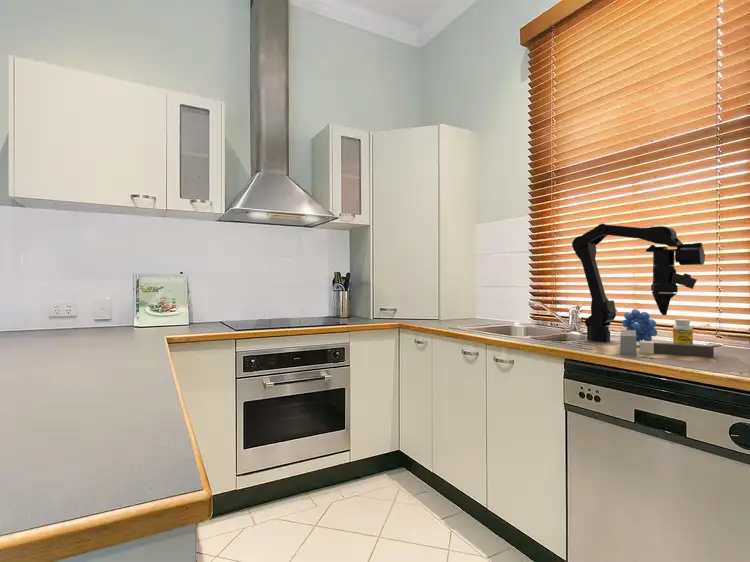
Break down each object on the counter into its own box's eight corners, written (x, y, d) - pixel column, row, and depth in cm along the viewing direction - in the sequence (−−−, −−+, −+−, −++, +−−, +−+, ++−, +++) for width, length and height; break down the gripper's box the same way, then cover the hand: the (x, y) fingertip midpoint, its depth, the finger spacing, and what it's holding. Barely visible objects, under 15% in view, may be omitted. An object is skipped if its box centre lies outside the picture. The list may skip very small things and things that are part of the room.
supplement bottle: (689, 347, 143) (689, 319, 143) (695, 350, 138) (695, 320, 138) (670, 346, 144) (670, 318, 144) (676, 349, 139) (676, 320, 139)
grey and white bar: (634, 352, 127) (634, 341, 127) (634, 350, 130) (634, 340, 130) (714, 358, 117) (714, 346, 117) (711, 356, 121) (711, 344, 121)
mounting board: (591, 357, 127) (591, 353, 127) (595, 348, 142) (595, 344, 142) (716, 367, 112) (716, 362, 112) (706, 356, 127) (706, 352, 127)
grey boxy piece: (620, 354, 124) (620, 335, 124) (621, 346, 137) (621, 329, 137) (636, 355, 122) (636, 336, 122) (635, 347, 135) (635, 330, 135)
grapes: (617, 341, 157) (617, 309, 157) (624, 339, 162) (624, 308, 162) (652, 345, 148) (652, 310, 148) (659, 343, 153) (659, 309, 152)
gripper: (698, 264, 124) (698, 317, 124) (691, 265, 140) (690, 312, 140) (653, 265, 130) (653, 315, 130) (651, 266, 146) (650, 311, 146)
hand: (663, 314), depth 137 cm, fingers open, 9 cm apart
